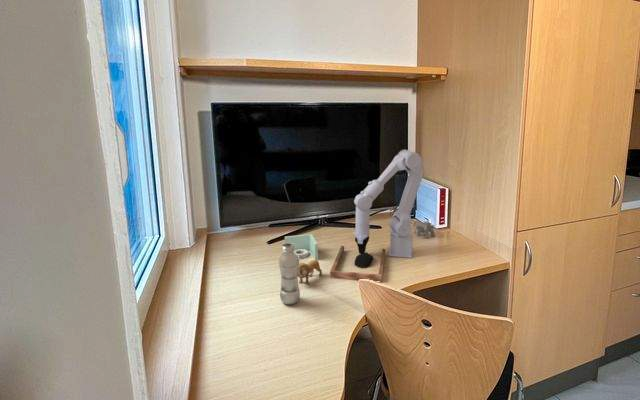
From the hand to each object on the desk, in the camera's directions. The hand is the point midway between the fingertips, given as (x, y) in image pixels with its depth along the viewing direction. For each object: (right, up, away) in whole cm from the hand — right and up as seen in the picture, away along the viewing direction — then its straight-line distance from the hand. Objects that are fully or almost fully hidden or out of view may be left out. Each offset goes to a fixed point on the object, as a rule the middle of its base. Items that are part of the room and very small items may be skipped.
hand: (361, 253), depth 150 cm
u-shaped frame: (-2, -3, -7) cm, 8 cm away
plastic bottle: (-28, -11, -33) cm, 44 cm away
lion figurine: (-22, -7, -19) cm, 30 cm away
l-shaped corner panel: (-26, -2, +2) cm, 26 cm away
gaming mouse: (+1, -3, -3) cm, 4 cm away
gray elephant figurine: (+32, +5, +21) cm, 38 cm away
